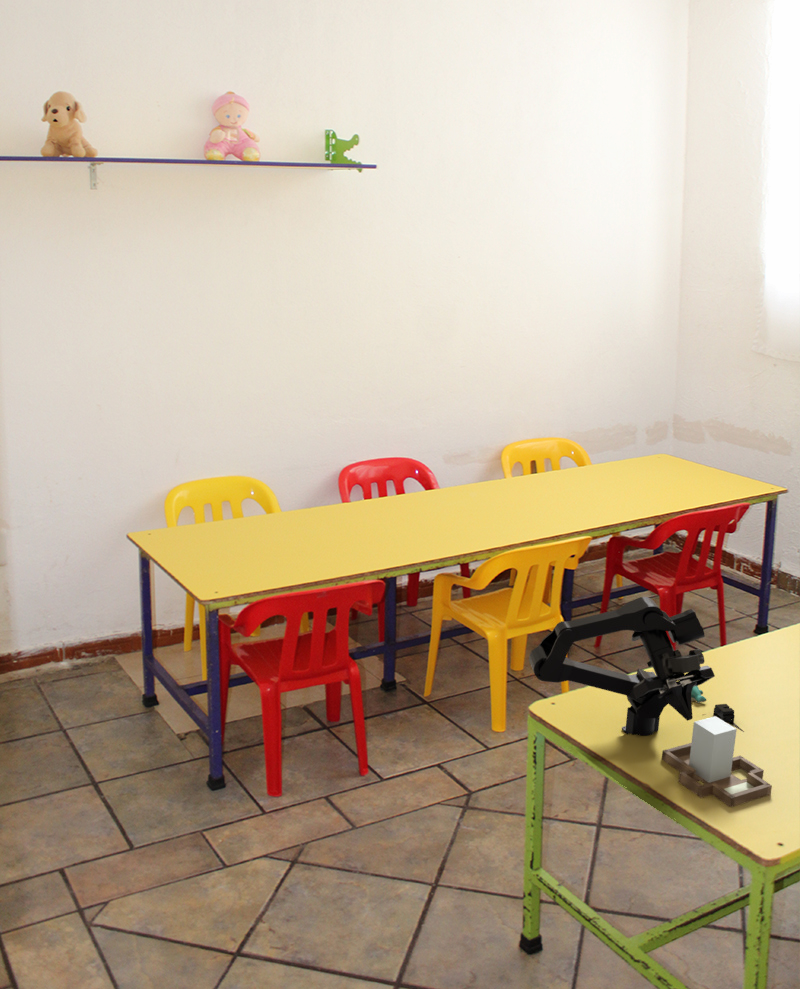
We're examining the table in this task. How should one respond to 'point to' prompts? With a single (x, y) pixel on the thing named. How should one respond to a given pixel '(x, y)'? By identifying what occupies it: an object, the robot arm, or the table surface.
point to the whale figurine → (697, 695)
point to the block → (712, 748)
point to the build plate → (725, 714)
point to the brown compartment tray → (723, 789)
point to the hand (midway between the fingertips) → (690, 719)
